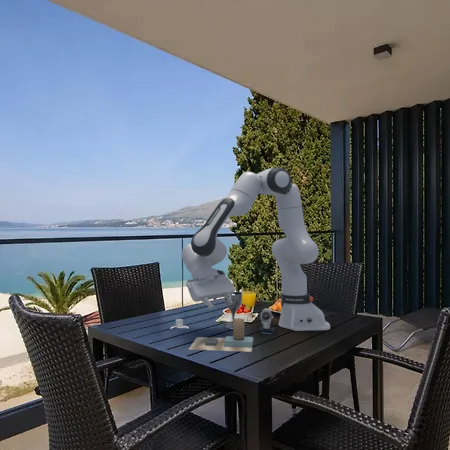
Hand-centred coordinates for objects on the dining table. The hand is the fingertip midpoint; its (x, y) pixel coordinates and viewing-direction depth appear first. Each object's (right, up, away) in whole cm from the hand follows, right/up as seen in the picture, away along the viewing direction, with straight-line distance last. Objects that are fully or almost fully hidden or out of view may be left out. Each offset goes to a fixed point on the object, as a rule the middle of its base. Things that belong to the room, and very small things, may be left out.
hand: (221, 306), depth 145 cm
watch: (+18, -14, +9) cm, 25 cm away
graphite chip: (-4, -13, -6) cm, 14 cm away
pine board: (0, -14, -6) cm, 15 cm away
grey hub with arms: (-21, -15, +20) cm, 32 cm away
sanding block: (+6, -12, -7) cm, 15 cm away
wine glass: (+5, -14, +24) cm, 28 cm away
